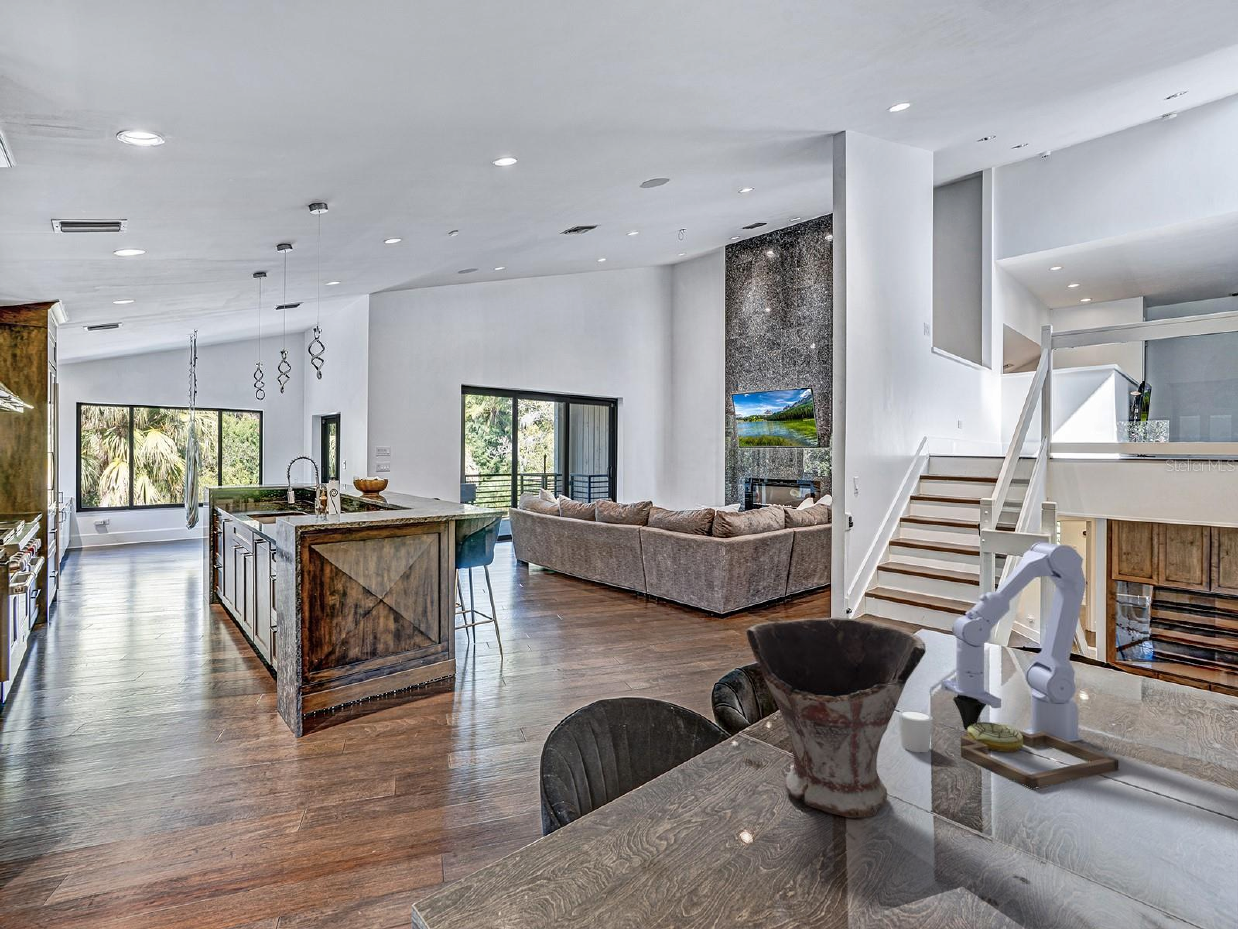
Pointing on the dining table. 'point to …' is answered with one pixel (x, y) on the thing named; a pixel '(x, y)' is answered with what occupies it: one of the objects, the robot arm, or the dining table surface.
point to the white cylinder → (915, 730)
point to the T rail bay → (1095, 767)
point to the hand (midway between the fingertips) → (969, 729)
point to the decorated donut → (996, 736)
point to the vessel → (836, 703)
